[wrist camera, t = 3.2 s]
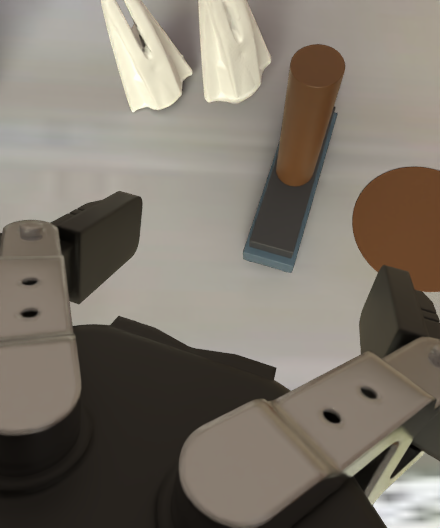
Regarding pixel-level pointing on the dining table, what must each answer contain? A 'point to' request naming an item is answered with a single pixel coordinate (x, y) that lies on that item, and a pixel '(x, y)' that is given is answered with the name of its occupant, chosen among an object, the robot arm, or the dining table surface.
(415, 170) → the brown round coaster
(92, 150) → the dining table surface
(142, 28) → the shaker set
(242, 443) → the robot arm
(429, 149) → the dining table surface
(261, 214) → the sponge wiper
